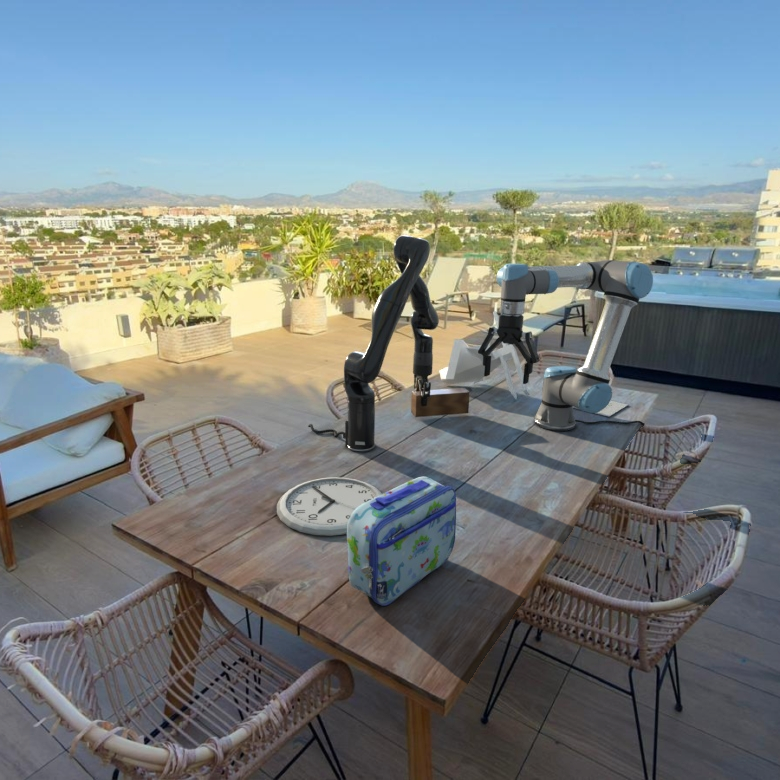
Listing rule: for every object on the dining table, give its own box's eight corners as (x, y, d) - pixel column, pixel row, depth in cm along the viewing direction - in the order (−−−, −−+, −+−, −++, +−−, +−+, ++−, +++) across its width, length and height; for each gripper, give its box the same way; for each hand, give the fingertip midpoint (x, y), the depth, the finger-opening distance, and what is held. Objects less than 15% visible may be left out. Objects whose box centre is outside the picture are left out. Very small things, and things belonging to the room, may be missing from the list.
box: (462, 408, 217) (463, 387, 214) (468, 413, 211) (469, 392, 208) (410, 412, 211) (411, 391, 208) (415, 417, 205) (416, 395, 203)
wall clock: (392, 527, 129) (268, 531, 127) (391, 533, 130) (269, 537, 127) (383, 473, 158) (282, 475, 155) (383, 478, 158) (282, 480, 156)
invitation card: (608, 416, 214) (573, 407, 224) (608, 416, 214) (573, 408, 224) (628, 404, 229) (594, 396, 238) (628, 405, 229) (594, 397, 238)
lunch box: (376, 619, 101) (377, 524, 95) (340, 592, 109) (339, 502, 102) (459, 562, 119) (465, 479, 113) (424, 542, 126) (427, 463, 120)
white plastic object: (461, 429, 252) (437, 405, 227) (444, 352, 274) (420, 323, 250) (535, 404, 240) (518, 377, 215) (510, 326, 262) (492, 293, 237)
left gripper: (408, 358, 208) (406, 398, 213) (419, 367, 195) (417, 409, 200) (425, 357, 210) (424, 397, 215) (438, 366, 197) (436, 408, 202)
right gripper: (470, 311, 168) (466, 374, 175) (545, 320, 154) (538, 389, 160) (481, 308, 174) (477, 370, 180) (554, 317, 160) (547, 383, 166)
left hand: (421, 403), depth 208 cm, fingers closed on box, 6 cm apart
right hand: (505, 379), depth 170 cm, fingers open, 13 cm apart
